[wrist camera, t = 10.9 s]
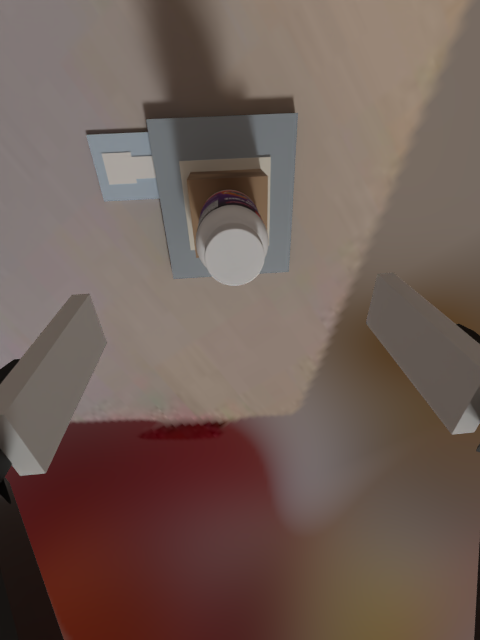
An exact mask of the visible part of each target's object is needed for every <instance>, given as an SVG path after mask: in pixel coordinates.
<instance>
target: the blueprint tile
mask: <svg viewBox="0 0 480 640" xmlns="http://www.w3.org/2000/svg"><path fill="white" fill-rule="evenodd" d="M86 136H87V139H88V143H89V147H90V150H91V154H92V158H93V162H94V165H95V169H96V173H97V176H98V180H99V184H100V188H101V191H102V195H103V199H104V201H121V200H140V199H159V198H160V197H159V191H158V185H157V180H156V174H155V168H154V162H153V157H152V151H151V145H150V139H149V133H148V132H138V133H115V134H93V135H86Z"/></svg>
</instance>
